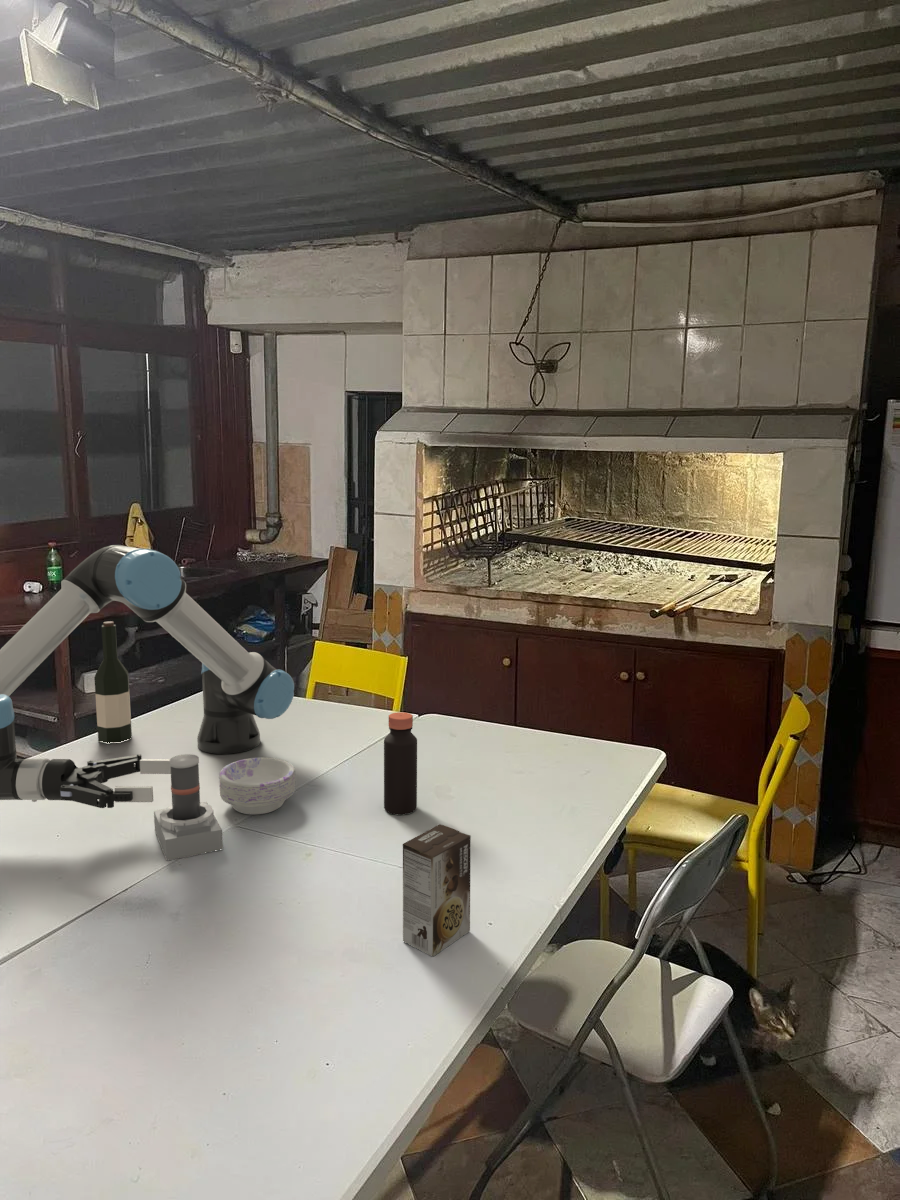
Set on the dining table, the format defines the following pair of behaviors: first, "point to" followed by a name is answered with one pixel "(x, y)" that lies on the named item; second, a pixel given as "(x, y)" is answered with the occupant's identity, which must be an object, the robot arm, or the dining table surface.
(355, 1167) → the dining table surface
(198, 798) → the grey capped canister
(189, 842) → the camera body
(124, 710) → the wine bottle
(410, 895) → the coffee box
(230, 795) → the paper bowls
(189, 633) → the robot arm
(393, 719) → the vinegar
